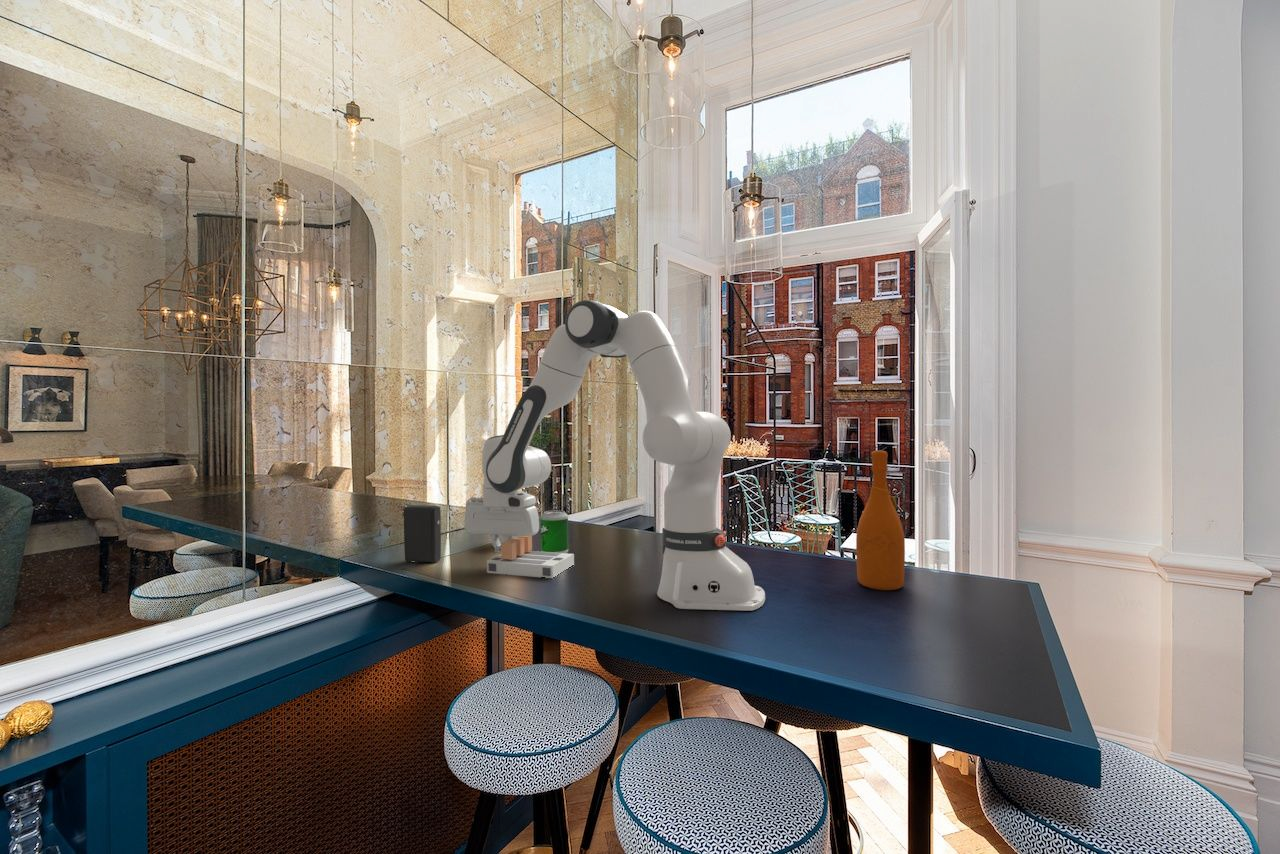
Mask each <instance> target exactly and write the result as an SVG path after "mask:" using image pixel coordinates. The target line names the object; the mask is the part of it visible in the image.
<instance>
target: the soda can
mask: <svg viewBox="0 0 1280 854" xmlns="http://www.w3.org/2000/svg"><path fill="white" fill-rule="evenodd" d="M540 550H541V551H540V552H553V553H568V552H569V515H568V514H567V513H566V512H565V510H557V509H556V510H547V511H544V512H543V513H542V514H540Z"/></svg>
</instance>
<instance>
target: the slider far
mask: <svg viewBox="0 0 1280 854" xmlns="http://www.w3.org/2000/svg"><path fill="white" fill-rule="evenodd" d="M518 538H524V547H525V552H530V551H533V536H530V537H529V536H518Z"/></svg>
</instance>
